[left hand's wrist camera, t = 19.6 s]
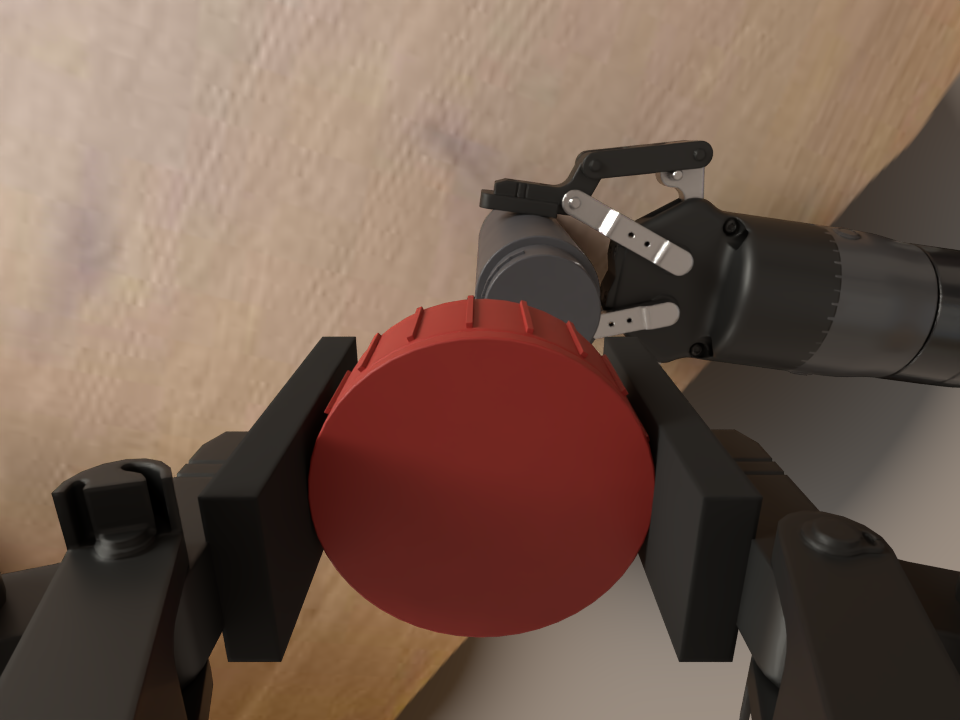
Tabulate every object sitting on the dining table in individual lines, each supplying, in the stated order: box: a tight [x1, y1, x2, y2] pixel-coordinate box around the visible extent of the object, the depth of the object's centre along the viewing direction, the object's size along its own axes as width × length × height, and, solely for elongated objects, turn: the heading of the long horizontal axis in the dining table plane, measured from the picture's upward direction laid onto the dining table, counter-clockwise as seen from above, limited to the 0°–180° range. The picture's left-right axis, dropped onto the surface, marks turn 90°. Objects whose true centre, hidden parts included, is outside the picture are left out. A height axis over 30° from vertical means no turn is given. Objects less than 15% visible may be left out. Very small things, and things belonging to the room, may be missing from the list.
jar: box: [475, 210, 601, 344], centre depth 29 cm, size 5×5×16 cm
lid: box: [308, 296, 655, 637], centre depth 11 cm, size 6×6×2 cm
